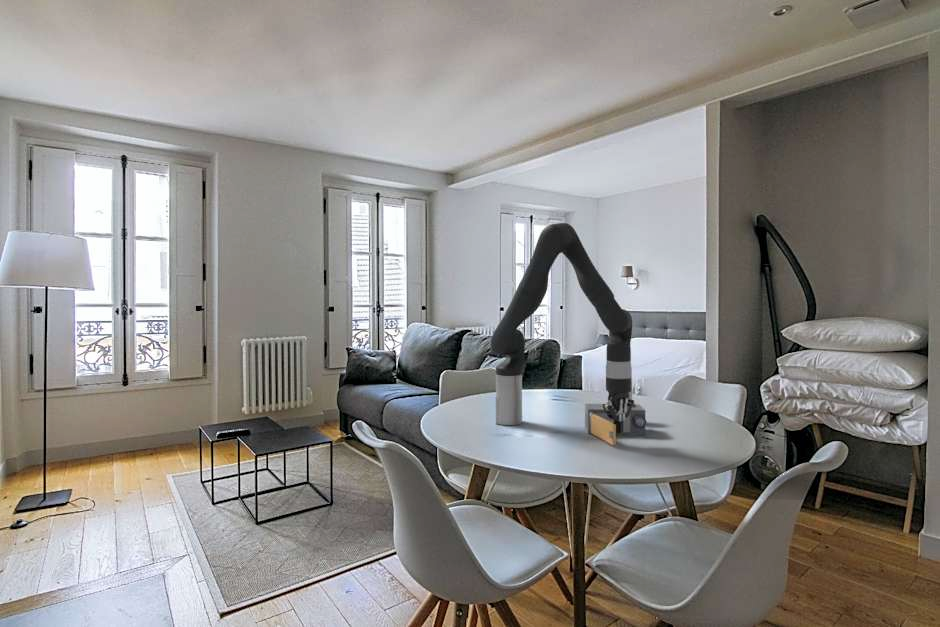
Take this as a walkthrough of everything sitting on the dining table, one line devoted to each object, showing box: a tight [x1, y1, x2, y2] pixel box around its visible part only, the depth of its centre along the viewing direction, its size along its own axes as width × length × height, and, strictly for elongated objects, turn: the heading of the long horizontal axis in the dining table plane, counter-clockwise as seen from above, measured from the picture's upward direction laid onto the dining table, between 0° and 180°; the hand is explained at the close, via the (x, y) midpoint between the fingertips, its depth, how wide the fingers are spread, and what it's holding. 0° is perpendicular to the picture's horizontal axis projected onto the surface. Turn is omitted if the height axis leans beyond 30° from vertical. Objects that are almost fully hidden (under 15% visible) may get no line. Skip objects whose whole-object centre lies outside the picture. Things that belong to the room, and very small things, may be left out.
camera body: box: [584, 402, 647, 436], centre depth 168 cm, size 18×11×9 cm, turn 84°
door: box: [589, 412, 617, 446], centre depth 158 cm, size 15×2×7 cm, turn 13°
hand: (618, 432), depth 154 cm, fingers closed
